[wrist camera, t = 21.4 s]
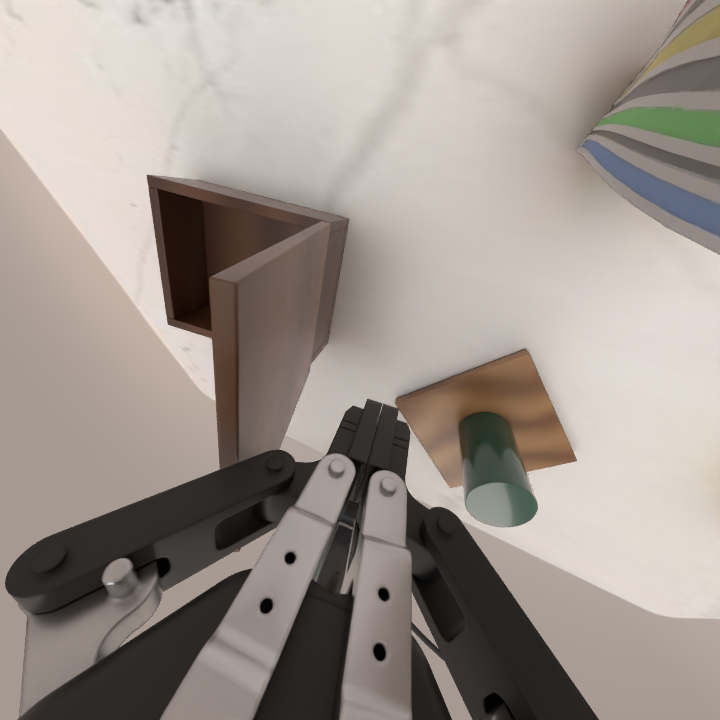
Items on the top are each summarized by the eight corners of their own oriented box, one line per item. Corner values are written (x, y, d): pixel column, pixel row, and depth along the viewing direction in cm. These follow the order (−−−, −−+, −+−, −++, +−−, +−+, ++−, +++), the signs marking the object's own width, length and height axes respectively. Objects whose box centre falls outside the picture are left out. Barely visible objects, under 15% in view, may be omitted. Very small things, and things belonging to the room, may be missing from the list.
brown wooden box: (208, 306, 33) (167, 324, 28) (200, 180, 27) (146, 174, 22) (327, 343, 32) (307, 368, 27) (349, 218, 25) (328, 221, 20)
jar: (519, 442, 31) (547, 522, 23) (470, 455, 33) (480, 531, 25) (500, 404, 29) (523, 475, 22) (449, 420, 32) (453, 490, 24)
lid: (223, 550, 13) (239, 553, 13) (207, 276, 7) (237, 283, 7) (302, 370, 26) (309, 371, 26) (321, 220, 20) (331, 223, 20)
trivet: (573, 454, 31) (577, 461, 30) (449, 481, 37) (450, 488, 36) (526, 348, 27) (529, 353, 26) (395, 398, 33) (394, 403, 32)
